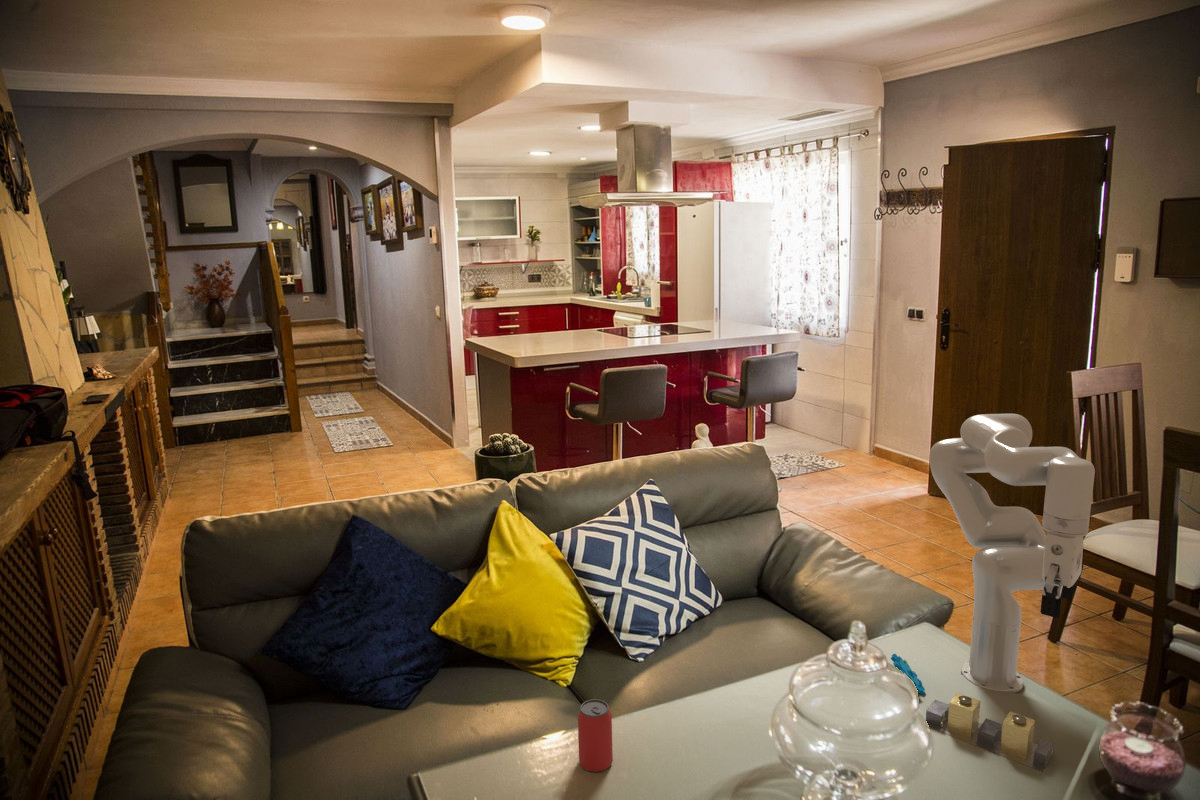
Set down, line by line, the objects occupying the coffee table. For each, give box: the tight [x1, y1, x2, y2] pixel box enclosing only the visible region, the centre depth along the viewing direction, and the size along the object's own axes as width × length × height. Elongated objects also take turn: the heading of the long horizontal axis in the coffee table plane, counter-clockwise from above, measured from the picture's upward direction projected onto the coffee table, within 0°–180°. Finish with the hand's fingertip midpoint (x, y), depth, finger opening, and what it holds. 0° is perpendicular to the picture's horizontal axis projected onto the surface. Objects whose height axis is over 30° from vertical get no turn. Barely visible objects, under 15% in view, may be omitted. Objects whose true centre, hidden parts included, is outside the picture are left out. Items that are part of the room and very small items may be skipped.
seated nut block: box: [947, 692, 981, 738], centre depth 157 cm, size 4×4×7 cm
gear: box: [890, 653, 926, 696], centre depth 174 cm, size 11×6×10 cm
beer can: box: [577, 698, 614, 773], centre depth 151 cm, size 7×7×12 cm
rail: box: [925, 699, 1054, 773], centre depth 155 cm, size 8×22×4 cm, turn 48°
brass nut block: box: [1001, 711, 1036, 759], centre depth 151 cm, size 4×4×7 cm
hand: (1056, 606), depth 151 cm, fingers open, 9 cm apart
